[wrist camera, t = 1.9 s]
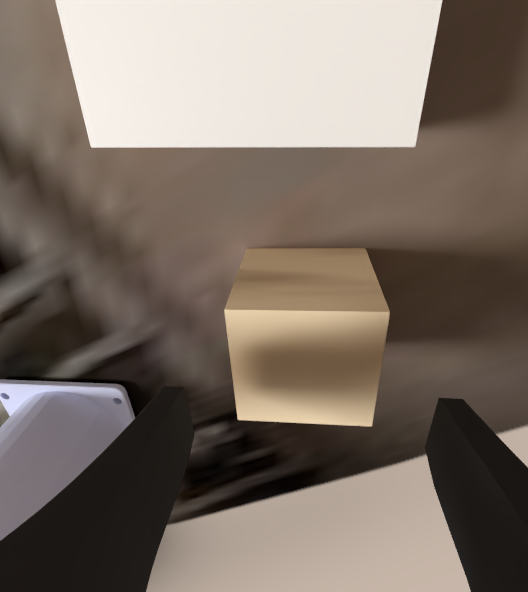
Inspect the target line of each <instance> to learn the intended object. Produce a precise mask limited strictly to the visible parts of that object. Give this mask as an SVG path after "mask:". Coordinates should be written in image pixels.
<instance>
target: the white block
mask: <svg viewBox="0 0 528 592" xmlns="http://www.w3.org/2000/svg"><path fill="white" fill-rule="evenodd" d="M55 1H56V5H57V9H58V13H59V17H60V21H61V25H62V29H63V34H64V38H65V42H66V46H67V50H68V54H69V58H70V63H71V67H72V71H73V75H74V79H75V83H76V87H77V92H78V96H79V100H80V104H81V108H82V112H83V116H84V121H85V125H86V129H87V133H88V137H89V141H90V145H91V147H415V144H416V139H417V134H418V128H419V123H420V118H421V112H422V107H423V102H424V96H425V91H426V86H427V80H428V75H429V69H430V64H431V59H432V53H433V48H434V43H435V37H436V32H437V27H438V21H439V16H440V11H441V5H442V0H55Z"/></svg>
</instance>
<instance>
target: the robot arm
mask: <svg viewBox="0 0 528 592" xmlns="http://www.w3.org/2000/svg"><path fill="white" fill-rule="evenodd" d="M0 400H1V402H2V403H3V405H4V407H5V409H6V410H7V412H8V414H9V415H10V417H9V418H8V419H7V421H6V422H5V423H4V424H3V425H2V426H1V427H0V592H146V589H147V585H148V581H149V577H150V574H151V570H152V566H153V563H154V560H155V557H156V554H157V551H158V548H159V545H160V542H161V539H162V537H163V534H164V531H165V528H166V525H167V522H168V520H169V517H170V514H171V511H172V508H173V505H174V503H175V500H176V497H177V494H178V491H179V488H180V485H181V483H182V480H183V477H184V474H185V471H186V468H187V464H188V460H189V455H190V451H191V447H192V442H193V438H194V430H193V425H192V421H191V416H190V411H189V407H188V402H187V398H186V393H185V389H184V387H163V388H162V389H161V390H160V391H159V393H158V394H157V395H156V396H155V397H154V398H153V399H152V400H151V401H150V402H149V404H148V405H147V406H146V407H145V408H144V409H143V410H142V411H141V412H140V413H139V415H138V416H137V417H136V418H135V416H134V413H133V410H132V406H131V403H130V400H129V397H128V394H127V391H126V389H125V388H124V387H123V386H122V385H119V384H106V383H80V382H54V381H28V380H3V379H2V380H0ZM425 448H426V453H427V457H428V462H429V467H430V471H431V475H432V478H433V483H434V487H435V489H436V493H437V495H438V498H439V501H440V504H441V507H442V510H443V512H444V516H445V518H446V521H447V524H448V527H449V530H450V532H451V535H452V538H453V541H454V543H455V547H456V549H457V552H458V555H459V558H460V560H461V563H462V566H463V569H464V572H465V575H466V577H467V580H468V583H469V587H470V590H471V592H528V468H527V466H526V465H525V464H524V463H523V462H522V461H521V460H520V459H519V458H518V457H517V456H516V455H515V454H514V453H513V452H512V451H511V450H510V449H509V448H508V447H507V446H506V445H505V444H504V443H503V442H502V441H501V440H500V438H499V437H498V436H497V435H496V434H495V433H494V432H493V431H492V430H491V429H490V428H489V427H488V426H487V425H486V423H485V422H484V421H483V420H482V419H481V418H480V417H479V416H478V415H477V414H476V413H475V412H474V411H473V410H472V409H471V407H470V406H469V405H468V404H467V403H466V402H465V401H464V400H463V399H449V398H439V400H438V403H437V407H436V410H435V414H434V417H433V421H432V424H431V428H430V432H429V435H428V439H427V442H426V446H425Z"/></svg>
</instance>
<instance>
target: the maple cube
mask: <svg viewBox="0 0 528 592" xmlns="http://www.w3.org/2000/svg"><path fill="white" fill-rule="evenodd" d="M224 311H225V319H226V327H227V336H228V344H229V352H230V360H231V369H232V377H233V385H234V393H235V402H236V410H237V418H238V420H248V421H268V422H289V423H309V424H329V425H350V426H370V427H372V422H373V416H374V410H375V403H376V397H377V391H378V385H379V378H380V372H381V366H382V359H383V353H384V347H385V341H386V334H387V328H388V322H389V315H390V311H389V308H388V306H387V303H386V300H385V298H384V295H383V293H382V290H381V287H380V285H379V282H378V280H377V277H376V274H375V272H374V269H373V267H372V264H371V262H370V259H369V256H368V254H367V251H366V249H365V248H256V249H246V252H245V255H244V257H243V260H242V263H241V265H240V268H239V271H238V274H237V276H236V279H235V282H234V285H233V287H232V290H231V293H230V296H229V298H228V301H227V304H226V307H225V309H224Z"/></svg>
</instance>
